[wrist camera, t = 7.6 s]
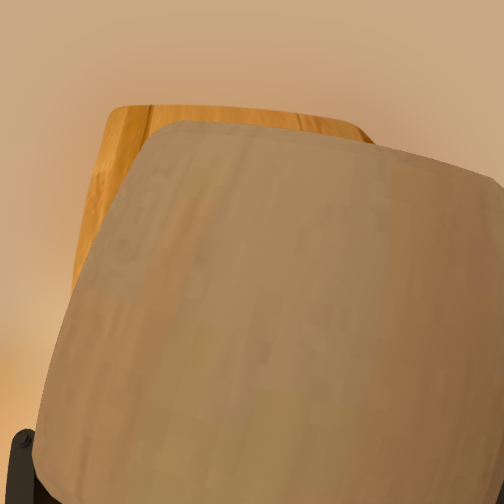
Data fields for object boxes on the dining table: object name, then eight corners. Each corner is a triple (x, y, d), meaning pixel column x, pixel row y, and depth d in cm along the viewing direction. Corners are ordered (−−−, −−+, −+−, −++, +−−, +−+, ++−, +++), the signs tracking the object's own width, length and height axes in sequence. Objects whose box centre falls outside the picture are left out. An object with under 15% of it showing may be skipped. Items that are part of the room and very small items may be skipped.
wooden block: (210, 421, 22) (11, 481, 4) (243, 305, 25) (150, 105, 7) (335, 449, 20) (467, 588, 2) (362, 329, 24) (522, 173, 5)
